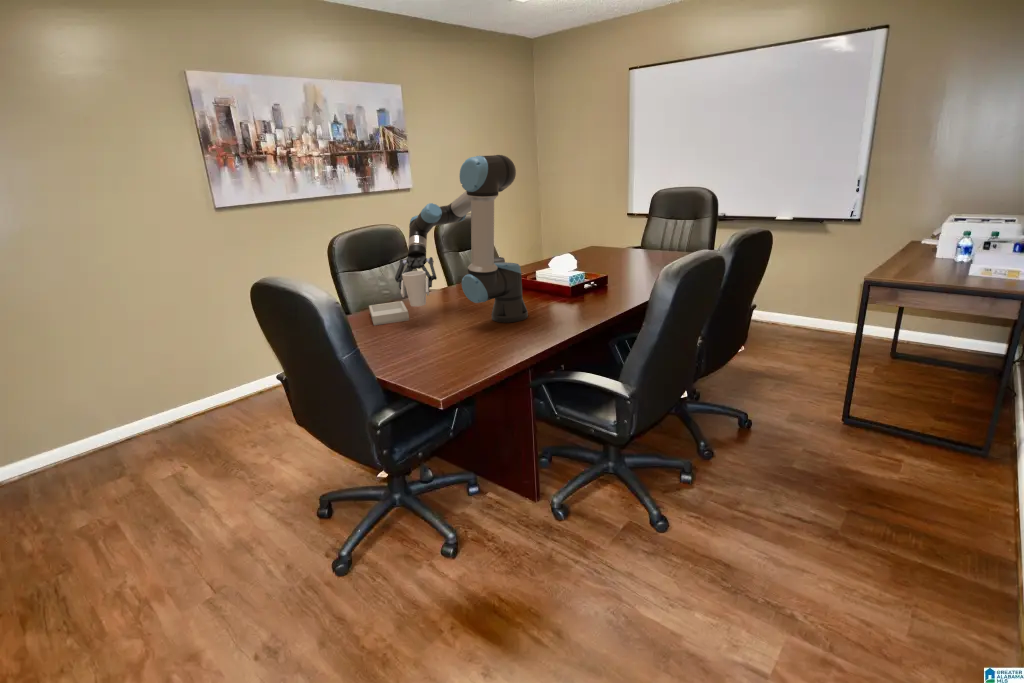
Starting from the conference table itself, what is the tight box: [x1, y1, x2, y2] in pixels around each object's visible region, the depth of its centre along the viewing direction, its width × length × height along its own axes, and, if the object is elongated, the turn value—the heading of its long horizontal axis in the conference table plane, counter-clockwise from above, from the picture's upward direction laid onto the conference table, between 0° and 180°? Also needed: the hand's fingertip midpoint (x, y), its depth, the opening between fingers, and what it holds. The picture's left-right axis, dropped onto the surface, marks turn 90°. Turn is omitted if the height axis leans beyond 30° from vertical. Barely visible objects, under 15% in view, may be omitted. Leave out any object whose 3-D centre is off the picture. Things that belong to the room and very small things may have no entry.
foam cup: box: [402, 270, 427, 307], centre depth 215 cm, size 10×9×13 cm
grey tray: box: [368, 300, 410, 326], centre depth 234 cm, size 20×15×4 cm
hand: (415, 294), depth 212 cm, fingers closed on foam cup, 9 cm apart
